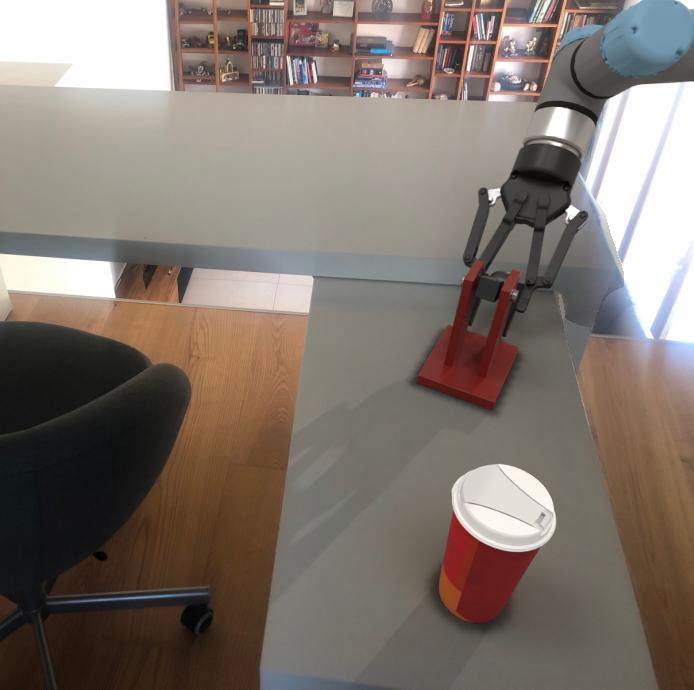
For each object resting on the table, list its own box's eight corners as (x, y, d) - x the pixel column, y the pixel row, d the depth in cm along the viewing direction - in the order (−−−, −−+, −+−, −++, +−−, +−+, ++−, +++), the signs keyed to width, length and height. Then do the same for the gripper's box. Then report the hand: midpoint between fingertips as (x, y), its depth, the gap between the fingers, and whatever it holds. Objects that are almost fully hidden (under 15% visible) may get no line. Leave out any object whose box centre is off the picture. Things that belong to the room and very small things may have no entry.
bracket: (446, 331, 90) (467, 240, 81) (516, 354, 86) (547, 261, 77) (416, 382, 82) (435, 289, 73) (491, 410, 79) (522, 315, 70)
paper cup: (531, 591, 62) (578, 495, 53) (488, 654, 58) (532, 561, 49) (453, 540, 66) (484, 442, 57) (408, 594, 62) (434, 499, 53)
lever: (484, 293, 89) (493, 266, 88) (512, 302, 87) (522, 274, 86) (465, 300, 76) (476, 268, 75) (498, 310, 75) (509, 278, 74)
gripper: (619, 179, 87) (553, 355, 87) (485, 151, 93) (424, 314, 93) (627, 156, 80) (555, 346, 80) (482, 127, 86) (416, 303, 86)
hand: (485, 328), depth 86 cm, fingers closed on lever, 4 cm apart
